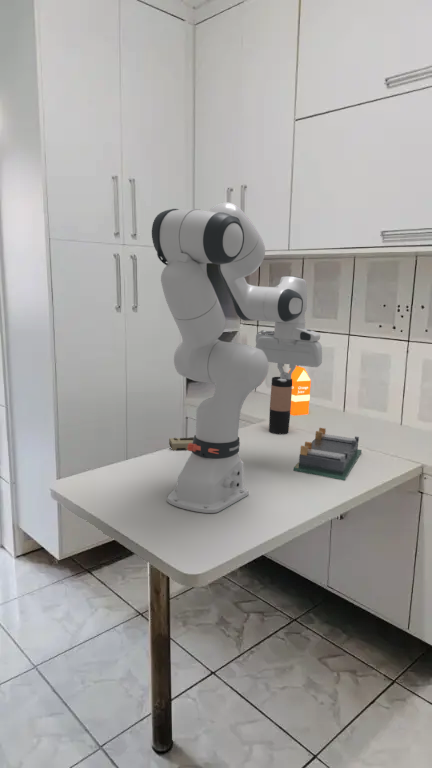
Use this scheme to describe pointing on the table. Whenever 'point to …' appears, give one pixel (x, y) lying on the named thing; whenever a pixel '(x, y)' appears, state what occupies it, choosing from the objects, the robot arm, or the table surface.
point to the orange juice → (300, 392)
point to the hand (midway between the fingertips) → (285, 378)
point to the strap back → (337, 438)
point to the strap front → (325, 454)
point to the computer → (180, 443)
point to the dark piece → (325, 464)
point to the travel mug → (280, 405)
